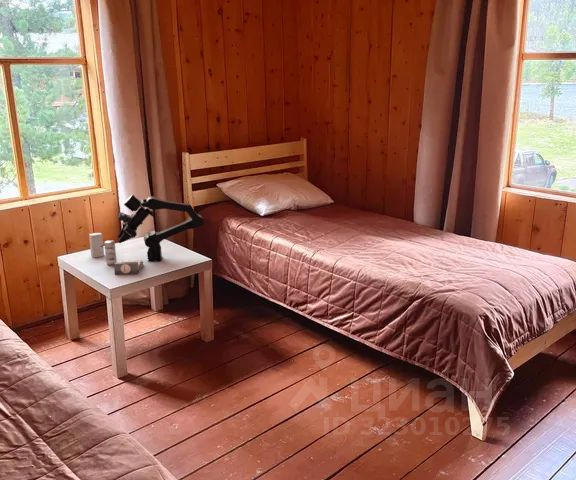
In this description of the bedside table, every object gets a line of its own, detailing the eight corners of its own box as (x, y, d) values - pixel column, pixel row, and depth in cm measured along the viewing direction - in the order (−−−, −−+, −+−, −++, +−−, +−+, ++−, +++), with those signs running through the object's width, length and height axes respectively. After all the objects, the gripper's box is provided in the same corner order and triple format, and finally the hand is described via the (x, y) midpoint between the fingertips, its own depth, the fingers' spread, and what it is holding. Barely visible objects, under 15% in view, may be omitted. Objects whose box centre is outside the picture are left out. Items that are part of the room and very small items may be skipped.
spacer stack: (118, 262, 286) (115, 240, 282) (115, 265, 281) (113, 243, 278) (108, 262, 286) (105, 240, 282) (105, 265, 281) (103, 243, 277)
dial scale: (143, 265, 282) (142, 254, 280) (137, 274, 269) (136, 263, 267) (121, 265, 281) (120, 255, 280) (114, 275, 268) (113, 264, 267)
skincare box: (93, 257, 293) (90, 235, 289) (90, 255, 297) (88, 233, 293) (104, 255, 296) (102, 234, 293) (102, 253, 300) (100, 232, 296)
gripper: (125, 202, 286) (105, 225, 286) (127, 211, 269) (105, 235, 269) (142, 216, 291) (122, 238, 291) (145, 225, 274) (124, 249, 274)
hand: (118, 240), depth 281 cm, fingers open, 9 cm apart
